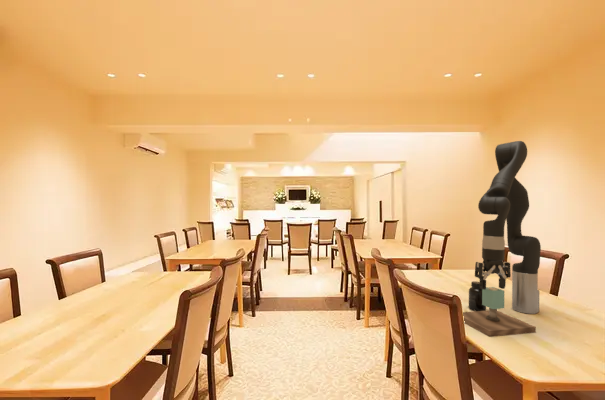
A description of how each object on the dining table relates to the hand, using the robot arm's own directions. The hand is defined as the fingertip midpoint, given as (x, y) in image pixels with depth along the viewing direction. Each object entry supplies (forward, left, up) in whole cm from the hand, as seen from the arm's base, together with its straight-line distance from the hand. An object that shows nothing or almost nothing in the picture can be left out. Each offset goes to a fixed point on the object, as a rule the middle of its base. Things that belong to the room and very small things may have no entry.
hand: (492, 288), depth 120 cm
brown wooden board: (0, 0, -14) cm, 14 cm away
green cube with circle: (0, 0, -7) cm, 7 cm away
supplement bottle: (-7, -16, -14) cm, 23 cm away
